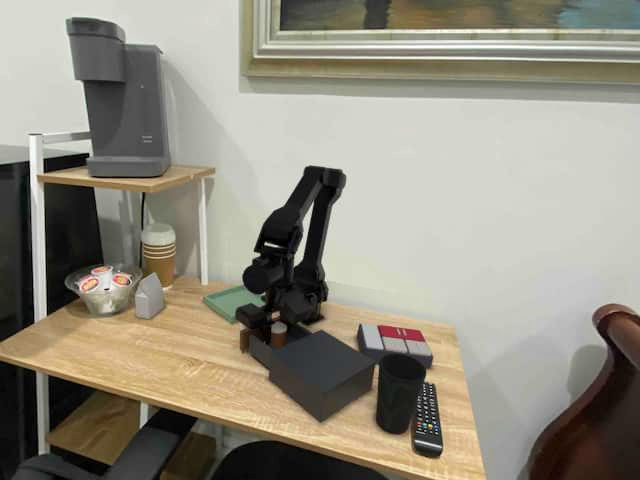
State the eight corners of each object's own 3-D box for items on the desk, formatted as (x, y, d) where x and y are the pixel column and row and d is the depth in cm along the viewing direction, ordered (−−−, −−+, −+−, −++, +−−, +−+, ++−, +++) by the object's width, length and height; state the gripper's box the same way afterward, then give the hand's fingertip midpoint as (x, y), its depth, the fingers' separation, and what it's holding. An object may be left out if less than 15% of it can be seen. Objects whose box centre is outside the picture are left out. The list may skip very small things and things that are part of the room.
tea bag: (163, 307, 104) (161, 273, 101) (149, 319, 98) (146, 283, 95) (151, 305, 105) (149, 270, 102) (136, 316, 99) (133, 280, 96)
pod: (277, 336, 90) (278, 319, 89) (289, 345, 87) (291, 328, 86) (261, 342, 87) (262, 325, 86) (274, 352, 84) (275, 334, 83)
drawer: (229, 340, 90) (229, 322, 88) (273, 323, 98) (274, 306, 96) (278, 380, 77) (279, 360, 76) (325, 357, 86) (327, 338, 84)
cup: (364, 407, 73) (373, 353, 69) (404, 406, 74) (415, 352, 69) (377, 440, 66) (388, 381, 61) (421, 438, 66) (434, 381, 62)
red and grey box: (435, 355, 84) (365, 345, 84) (430, 371, 85) (361, 362, 86) (421, 328, 94) (359, 320, 94) (417, 343, 95) (356, 335, 96)
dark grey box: (268, 379, 79) (270, 352, 76) (319, 354, 88) (321, 329, 86) (320, 423, 69) (324, 392, 66) (371, 389, 78) (376, 361, 75)
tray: (244, 289, 117) (244, 283, 117) (274, 308, 107) (275, 301, 107) (203, 302, 108) (203, 295, 108) (231, 323, 98) (231, 316, 98)
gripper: (269, 302, 70) (265, 374, 76) (338, 279, 82) (330, 343, 87) (234, 281, 78) (233, 347, 83) (301, 262, 89) (297, 322, 95)
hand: (275, 340), depth 87 cm, fingers closed on pod, 4 cm apart
